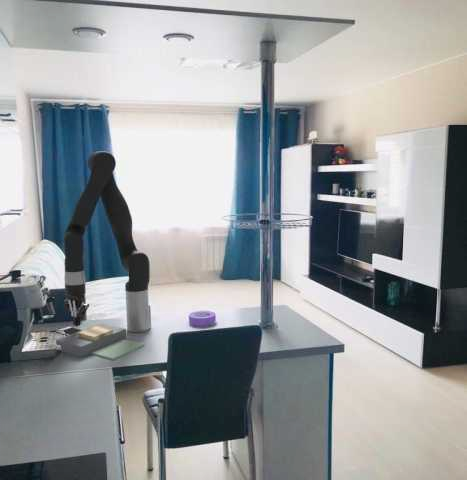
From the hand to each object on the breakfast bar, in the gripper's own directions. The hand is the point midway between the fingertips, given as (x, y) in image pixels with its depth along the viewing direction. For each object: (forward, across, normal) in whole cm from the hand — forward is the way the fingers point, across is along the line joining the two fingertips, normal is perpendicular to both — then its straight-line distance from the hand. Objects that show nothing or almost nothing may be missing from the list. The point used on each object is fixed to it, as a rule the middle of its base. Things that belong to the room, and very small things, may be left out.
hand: (76, 325), depth 183 cm
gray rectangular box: (+6, -8, 0) cm, 10 cm away
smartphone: (+7, +9, -6) cm, 13 cm away
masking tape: (+6, -29, -43) cm, 53 cm away
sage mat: (+6, -21, -1) cm, 22 cm away
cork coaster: (+2, -10, 0) cm, 10 cm away
